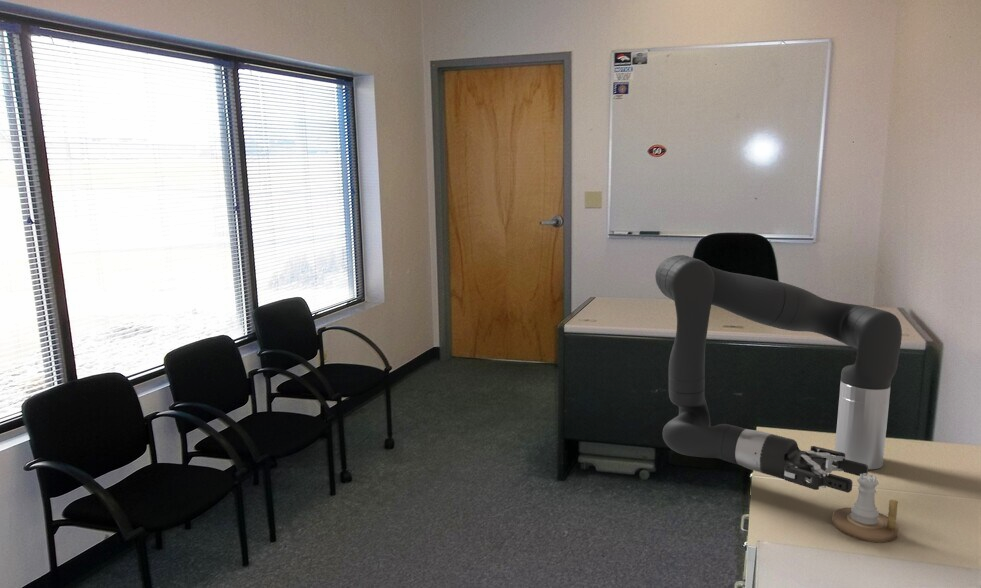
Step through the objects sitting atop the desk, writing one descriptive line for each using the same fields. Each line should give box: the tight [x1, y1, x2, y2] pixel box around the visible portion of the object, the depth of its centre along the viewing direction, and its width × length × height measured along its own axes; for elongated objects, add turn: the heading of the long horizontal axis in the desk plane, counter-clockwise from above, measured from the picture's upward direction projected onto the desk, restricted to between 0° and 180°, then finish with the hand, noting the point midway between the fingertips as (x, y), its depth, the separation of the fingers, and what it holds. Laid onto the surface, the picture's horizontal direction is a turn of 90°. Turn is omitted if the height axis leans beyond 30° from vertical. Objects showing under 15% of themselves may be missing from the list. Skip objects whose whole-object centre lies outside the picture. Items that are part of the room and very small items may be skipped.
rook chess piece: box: [850, 473, 880, 525], centre depth 119 cm, size 4×4×8 cm
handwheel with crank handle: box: [831, 499, 900, 543], centre depth 119 cm, size 10×10×6 cm
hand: (859, 478), depth 119 cm, fingers open, 8 cm apart
